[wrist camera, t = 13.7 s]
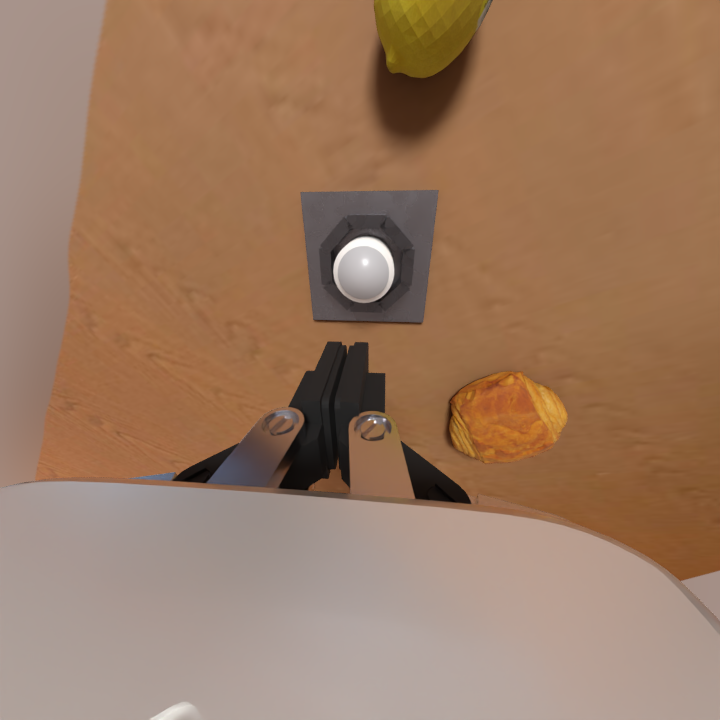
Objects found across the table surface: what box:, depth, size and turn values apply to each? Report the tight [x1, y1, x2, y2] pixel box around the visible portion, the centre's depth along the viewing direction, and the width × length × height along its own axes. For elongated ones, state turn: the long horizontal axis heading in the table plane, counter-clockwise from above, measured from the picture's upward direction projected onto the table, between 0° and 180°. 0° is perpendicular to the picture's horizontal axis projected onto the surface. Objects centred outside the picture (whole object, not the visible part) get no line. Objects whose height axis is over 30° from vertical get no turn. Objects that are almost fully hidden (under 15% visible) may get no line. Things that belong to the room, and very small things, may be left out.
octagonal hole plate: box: [301, 190, 438, 322], centre depth 30 cm, size 14×14×3 cm
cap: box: [333, 235, 394, 303], centre depth 28 cm, size 6×6×5 cm
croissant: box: [449, 371, 568, 464], centre depth 37 cm, size 14×16×8 cm
